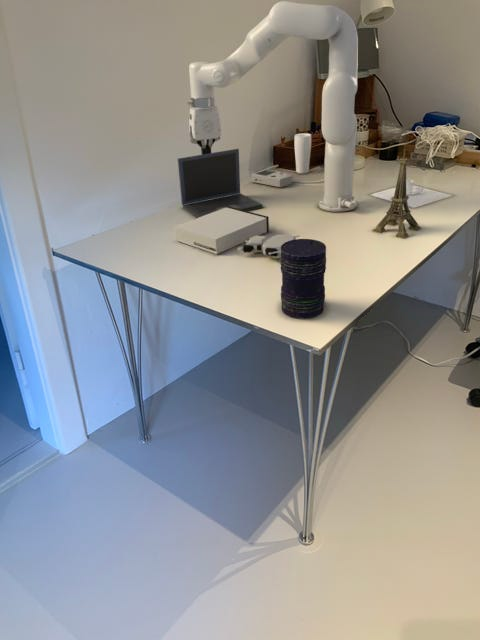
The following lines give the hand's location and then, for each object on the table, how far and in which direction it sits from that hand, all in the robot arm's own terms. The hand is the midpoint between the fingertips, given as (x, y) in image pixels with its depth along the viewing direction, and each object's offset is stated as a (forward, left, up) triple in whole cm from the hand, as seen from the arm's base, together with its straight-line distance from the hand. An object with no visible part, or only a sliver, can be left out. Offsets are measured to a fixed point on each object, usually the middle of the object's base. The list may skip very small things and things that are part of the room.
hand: (206, 159), depth 188 cm
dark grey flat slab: (-10, 0, -15) cm, 18 cm away
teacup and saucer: (-37, -61, -15) cm, 73 cm away
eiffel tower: (-60, -34, -15) cm, 71 cm away
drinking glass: (+12, -48, -15) cm, 52 cm away
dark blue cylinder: (-86, +17, -15) cm, 89 cm away
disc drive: (-35, +12, -15) cm, 40 cm away
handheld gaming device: (+6, -30, -15) cm, 34 cm away
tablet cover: (-2, 0, -6) cm, 6 cm away
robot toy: (-54, +7, -15) cm, 56 cm away
